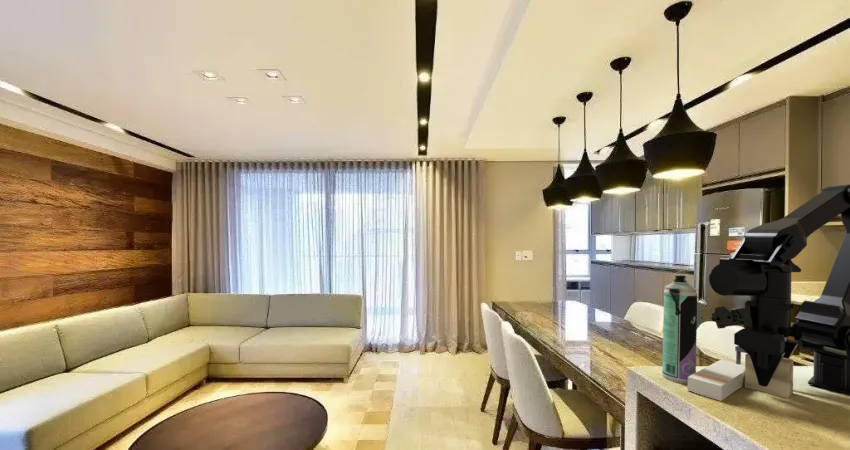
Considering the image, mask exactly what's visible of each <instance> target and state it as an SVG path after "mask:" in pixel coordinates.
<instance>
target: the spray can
mask: <svg viewBox="0 0 850 450" xmlns="http://www.w3.org/2000/svg"><path fill="white" fill-rule="evenodd" d="M686 276H687V275H675V276H674V277H675V279H673V280H672V282H671V283H669V284H668V285H665V286H664V291H663V321H662V322H663V323H662V324H663V327H662V328H663V329H662V330H663V331H662V363H661V364H662V369H661V370H662V371H661V372H662V373H661V375H662V377H663V378H665V379H666V380H669V381H671V382H675V383H679V382H681V383H680V384H688V377H689V376H690V375H692V374H693V373H696V372H697V371H696V370H697V331H698V330H697V327H698V326H697V325H698V324H697V323H698V318H697V317H698V293H697V290H698V289H697V288H695V287H694V286H692V285H691V284H690V282H689V281H688V280H687V277H686Z"/></svg>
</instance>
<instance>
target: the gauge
mask: <svg viewBox="0 0 850 450" xmlns="http://www.w3.org/2000/svg"><path fill="white" fill-rule="evenodd" d="M734 349H735V363H736V364H739V365H741V364H742V363H741V362H742V357H741V356H742V353H744V356H745V359H744V365H745V384H744V387H745V388H748V389H752V390H754V391H755V390H756V391H759V392H763V393H765V394H766V393H767V394H770V395H775V396H779V397H782V398H786V399H789V398H790V397H791V396H792V394H793V393H794V359H792V358H791V359H790V358H789V359H787V358H782V360H781V362H780V363H779V365H778V367H777V369H776V371H775V373H774V375H773V377H772V379H771V380H770V382H769V384H768V386H767V387H764V386H760V385H759V383H758V380H757V377H756V373H755V370H754V366H753V363H752V360H751V357H750V355H749V354H748V353H747V352H745V351H744V350H743V349H741V348H740V347H739V346H738V345H736V346H735V348H734Z"/></svg>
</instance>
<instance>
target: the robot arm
mask: <svg viewBox="0 0 850 450" xmlns="http://www.w3.org/2000/svg"><path fill="white" fill-rule="evenodd" d="M839 215H840V220H841V222H842V225H843V227H844V229H845V231H846V232H845V234H844V237H843V239H842V241H841V245H840V247H839V249H838V252H837V254H836V257H835V259H834V262H833V264H832V267H831V269H830V272H829V274H828V276H827V279H826V282H825V285H824V287H823V290H822V292H821V295H820V297H818V298H817V299H815V300H814V301H810V300H806V299H805V300H803V302H802V303H801V305H800V307H799V312H798V313H797V315H796V316H795V317H794V320H796V322H792V320H791V319H792V316H791V315H792V310H793V309H794V306H795V305H794V302H792V273H801V272H802V268H800V267H799V265H797V264H795V263H794V262H793V261H792V260H793V259H795V258H796V257H798V255H799V254H800V253H801V252H802V251H803V250H804V249H805V248H806V247H807V245H808V238H809V237H810V236H811V235H812V234H814V232H816V231H818V230H819V229H821V228H823V226H825V225H826V224H828V223H829V222H831V221H833V220H834V219H835V218H836V217H838V216H839ZM708 282H709V284H710V285H709V286H710V287H711V289H712V290H713V291H714V292H715V293H716V294H717V295H720V296H724V297H726V296H727V297H728V296H729V297H733V296H734V297H735V296H737V297H749V299H747V300H745V301H744V306H741V307H740V306H739V307H733V308H730V307H729V306H728V305H722V306H716V307H714V311H712V312H711V316H712V317H711V321H712V322H715V325H716V327H717V329H719V330H720V329H725V328H726V327H734V326H742V325H743V328H742V329H740V330H738V331H736V332H735V333H734V334H733V337H734V338H733V345H736V346H739V347H740V348H741V349H743V350H744V351H745V352H747V353H746V354H749V355H750V357H751V360H752V363H753V366H754V370H755V373H756V377H757V380H758V383H759V385H760V386H764V387H767V386H768V384H769V382H770V380H771V379H772V377H773V375H774V373H775V371H776V369H777V367H778V365H779V363H780V362H781V360H782V358H787V359H790V357H792V355H793V353H794V351H795V350H796V348H797V347H798V344H799V347H800V348H801V349H806V350H808V351H809V350H810V351H813V376H812V377H811V378H810V379H809V380H808V382H807V384H808V385H810V386H815V387H818V388H823V389H827V390H831V391H835V392H839V393H843V394H844V393H845V394H848V395H850V184H840V185H830V186H829V185H828V186H826V187H824V188H822V189H821V190H820V192H819V193H818V194H816V195H815V196H813V197H812V198H811V199H809V200H807V201H806V202H805V203H803V204H802V205H800V206H798V208H796V209H794V210H793V211H791V212H790V213H789V214H787V215H785V216H784V217H782V218H780V219H778V220H773V221H771V222H766V223H763V224H760V225H757V226H755V227H753V228H750V229H749V230H748V231H746V233H745V234H744V236H743V239H742V240H741V242H740V244H739V245H738V247H737V248H736V250H735V251H734V253H733V255H732V256H731V257H720V258H719V263H718V264H717V265H715V266H713V268H712V270H711V271H710V274H709V275H708ZM791 337H792V338H794V340H793V339H789V338H791Z"/></svg>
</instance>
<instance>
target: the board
mask: <svg viewBox="0 0 850 450" xmlns="http://www.w3.org/2000/svg"><path fill="white" fill-rule="evenodd" d="M743 386H745V364H742V363H741V365H739V364H736V362H731V361H728V360H723V359H720V360H718V361H715V362H714V363H711V364H710V365H708V366H706V367H704V368H702V369H700V370H697V371H696V373H693V374H692V375H690V376H689V377H688V383H687V390H688V391H687V392H689V391H692V392H694V393H693V394H696V393H697V395H699V394H700V396H703V397H707V398H709V399H714V400H717V401H719V402H722V401H723V400H725V399H726V398H727V397H729V396H730V395H732V394H733V393H735V392H736V391H737V390H738V389H740V388H742V387H743ZM692 392H691V393H692Z"/></svg>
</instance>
